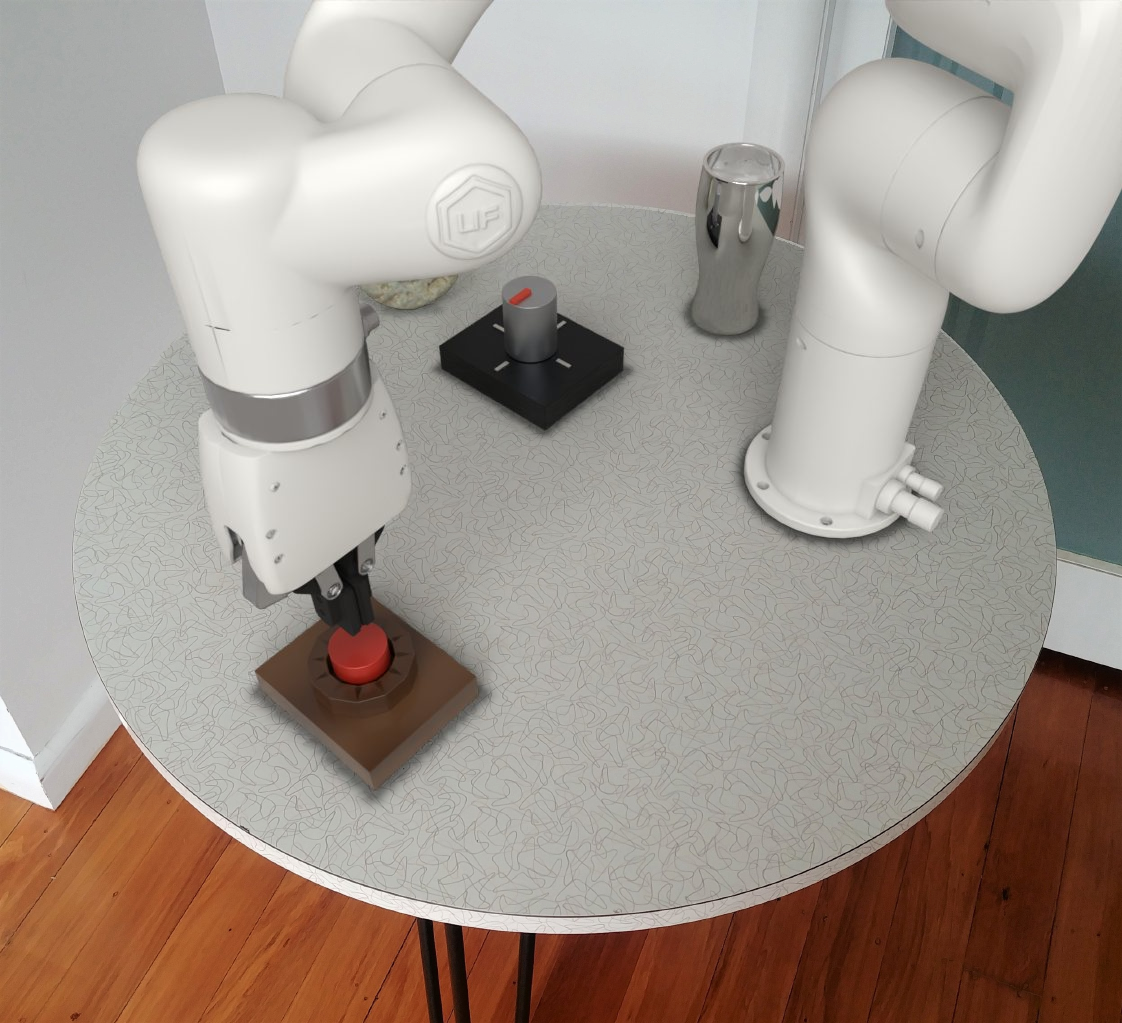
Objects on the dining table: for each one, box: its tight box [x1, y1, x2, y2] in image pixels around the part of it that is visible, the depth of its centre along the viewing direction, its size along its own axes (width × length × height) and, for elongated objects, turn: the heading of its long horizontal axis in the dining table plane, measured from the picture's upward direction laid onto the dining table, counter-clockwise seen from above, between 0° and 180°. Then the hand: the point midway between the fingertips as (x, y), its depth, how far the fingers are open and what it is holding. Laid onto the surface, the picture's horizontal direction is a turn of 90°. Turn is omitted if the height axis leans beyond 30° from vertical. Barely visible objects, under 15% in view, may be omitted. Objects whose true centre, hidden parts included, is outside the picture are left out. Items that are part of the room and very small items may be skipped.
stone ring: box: [357, 274, 460, 310], centre depth 94 cm, size 10×4×10 cm, turn 96°
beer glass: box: [690, 141, 786, 336], centre depth 90 cm, size 7×7×15 cm
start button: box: [328, 623, 391, 684], centre depth 65 cm, size 4×4×2 cm
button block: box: [254, 595, 479, 791], centre depth 67 cm, size 11×9×4 cm
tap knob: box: [501, 275, 558, 362], centre depth 87 cm, size 4×4×6 cm
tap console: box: [438, 303, 625, 431], centre depth 90 cm, size 12×10×3 cm
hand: (347, 615), depth 63 cm, fingers closed
